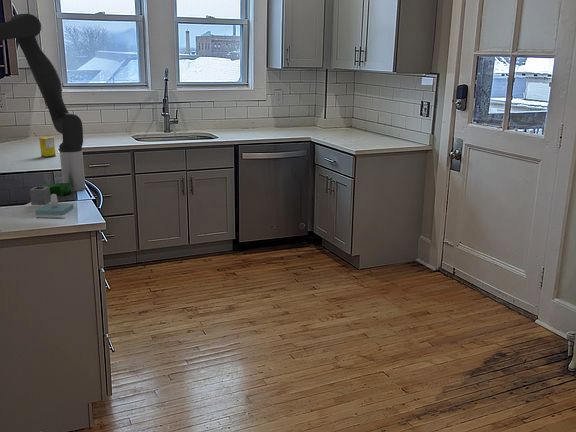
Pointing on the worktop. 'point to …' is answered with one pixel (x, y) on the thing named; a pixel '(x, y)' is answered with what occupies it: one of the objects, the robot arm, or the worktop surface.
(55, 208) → the block
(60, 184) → the clamp
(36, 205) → the rod stand
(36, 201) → the metal collar
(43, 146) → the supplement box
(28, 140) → the worktop surface
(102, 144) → the worktop surface
